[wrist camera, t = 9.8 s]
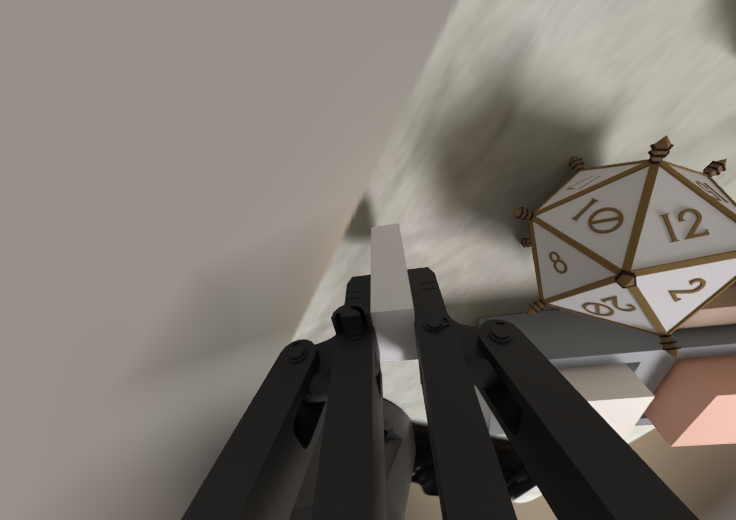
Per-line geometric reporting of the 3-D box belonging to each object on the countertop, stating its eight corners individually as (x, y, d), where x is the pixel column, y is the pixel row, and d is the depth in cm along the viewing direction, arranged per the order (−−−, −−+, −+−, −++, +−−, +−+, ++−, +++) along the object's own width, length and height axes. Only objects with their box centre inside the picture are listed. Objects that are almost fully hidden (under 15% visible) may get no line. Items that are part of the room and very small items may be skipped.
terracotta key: (635, 402, 21) (670, 446, 19) (668, 351, 18) (717, 395, 15) (723, 396, 21) (772, 441, 18) (774, 342, 17) (842, 386, 15)
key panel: (473, 388, 26) (488, 434, 22) (478, 317, 21) (499, 363, 17) (702, 370, 24) (756, 418, 20) (767, 288, 19) (851, 333, 16)
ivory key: (511, 408, 22) (528, 451, 20) (521, 361, 19) (544, 404, 16) (591, 403, 22) (620, 446, 19) (616, 352, 18) (654, 396, 16)
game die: (546, 208, 20) (610, 354, 17) (453, 197, 16) (508, 380, 13) (731, 101, 12) (919, 328, 9) (632, 38, 9) (878, 372, 5)
